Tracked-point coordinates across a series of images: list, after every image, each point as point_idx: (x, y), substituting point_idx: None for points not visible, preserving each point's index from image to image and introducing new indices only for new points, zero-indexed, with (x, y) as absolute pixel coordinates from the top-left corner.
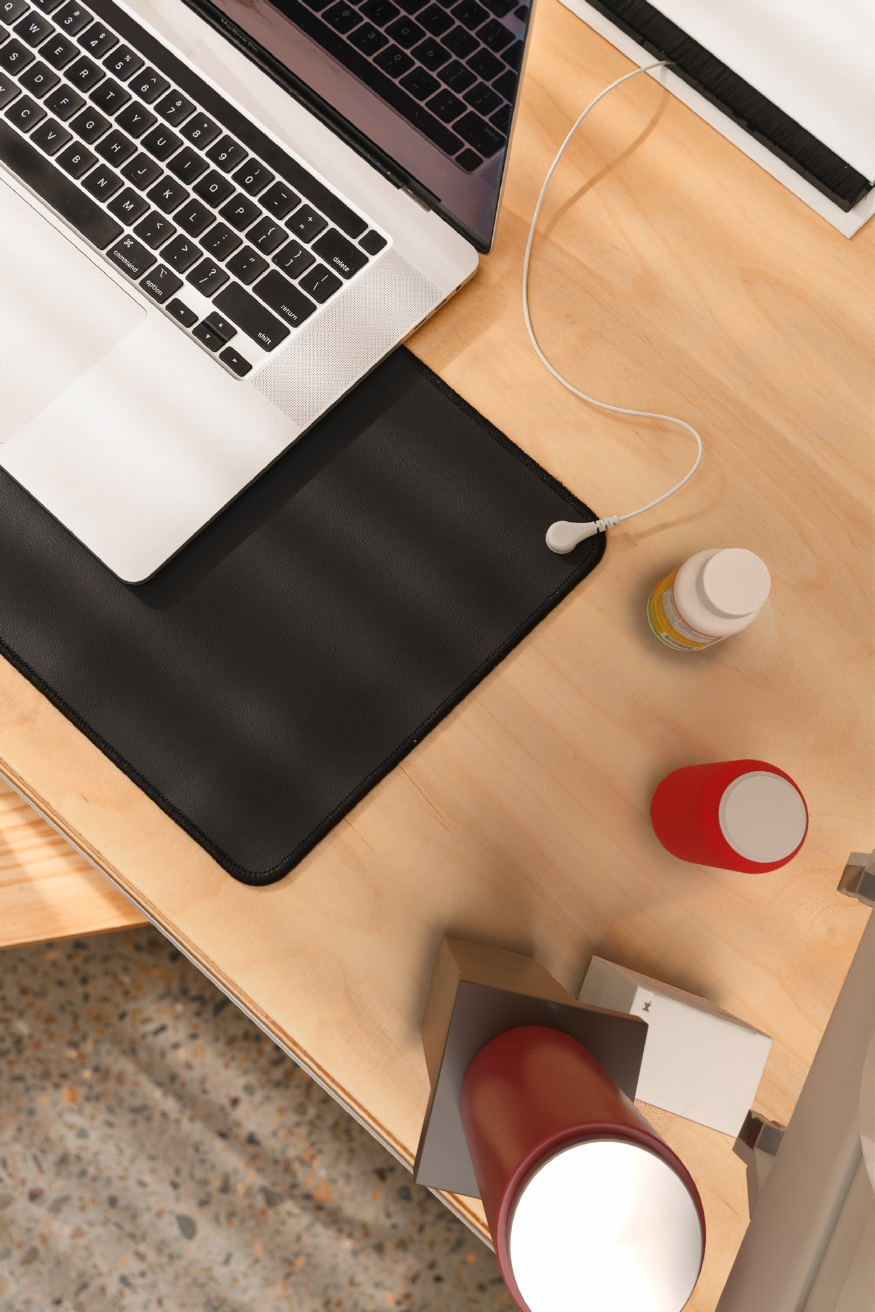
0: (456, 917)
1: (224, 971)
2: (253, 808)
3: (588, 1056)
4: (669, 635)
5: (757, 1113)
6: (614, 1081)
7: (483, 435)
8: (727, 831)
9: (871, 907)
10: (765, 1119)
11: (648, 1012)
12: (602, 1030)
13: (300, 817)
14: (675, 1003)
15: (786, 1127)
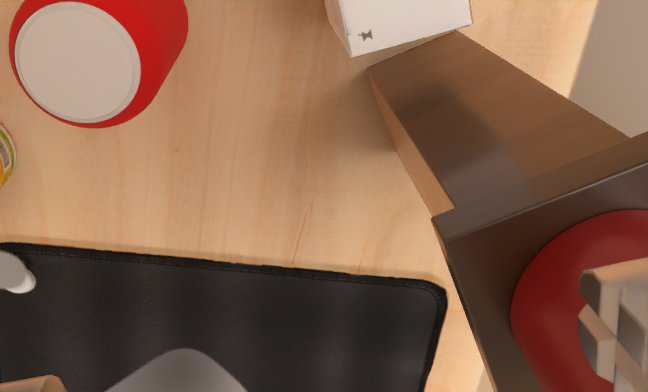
0: (374, 151)
1: None
2: (392, 326)
3: (557, 386)
4: (3, 168)
5: (588, 347)
6: (589, 388)
7: (5, 376)
8: (128, 94)
9: (55, 381)
10: (600, 351)
11: (371, 30)
12: (482, 283)
13: (378, 297)
14: (342, 5)
15: (590, 290)
